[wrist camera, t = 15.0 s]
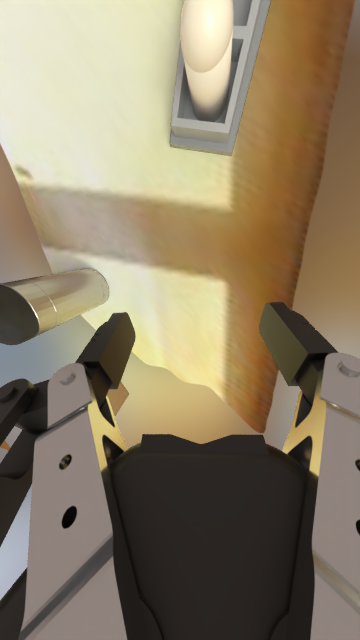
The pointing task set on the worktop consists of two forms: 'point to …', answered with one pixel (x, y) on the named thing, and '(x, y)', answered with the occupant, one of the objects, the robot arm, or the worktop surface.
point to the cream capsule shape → (207, 54)
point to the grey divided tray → (222, 133)
